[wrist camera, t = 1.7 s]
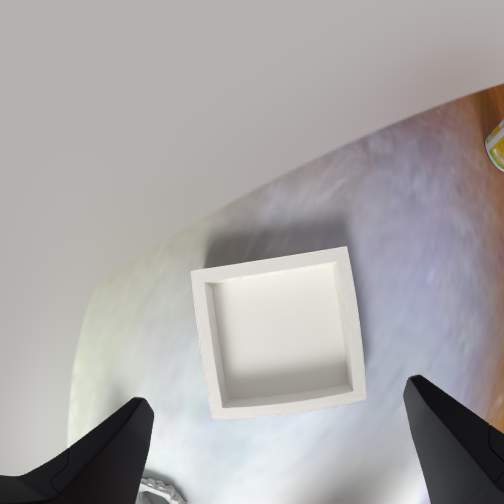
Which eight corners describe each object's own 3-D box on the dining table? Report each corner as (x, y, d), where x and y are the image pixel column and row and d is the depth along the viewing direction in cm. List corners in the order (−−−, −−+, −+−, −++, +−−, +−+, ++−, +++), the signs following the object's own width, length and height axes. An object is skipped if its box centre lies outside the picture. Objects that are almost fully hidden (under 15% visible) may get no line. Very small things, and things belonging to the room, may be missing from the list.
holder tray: (357, 389, 20) (366, 399, 17) (221, 406, 21) (212, 419, 18) (339, 253, 23) (346, 246, 20) (202, 275, 24) (190, 270, 21)
